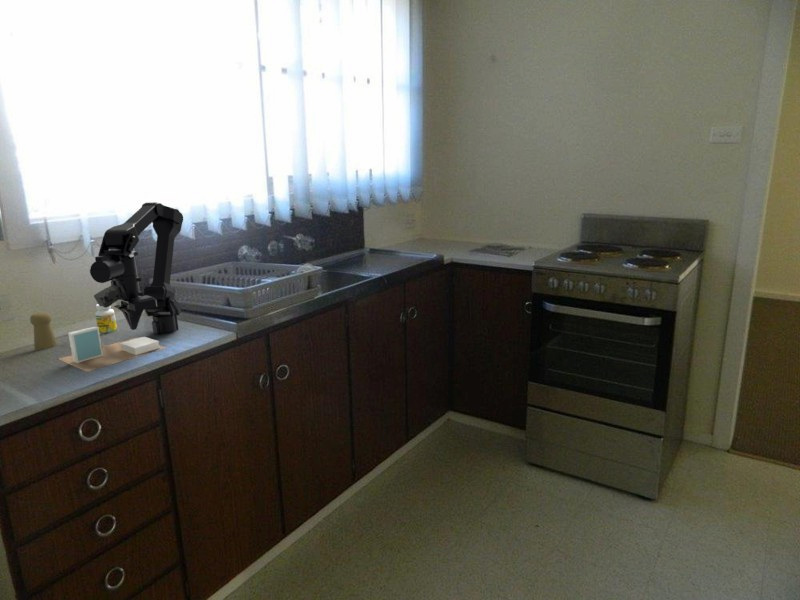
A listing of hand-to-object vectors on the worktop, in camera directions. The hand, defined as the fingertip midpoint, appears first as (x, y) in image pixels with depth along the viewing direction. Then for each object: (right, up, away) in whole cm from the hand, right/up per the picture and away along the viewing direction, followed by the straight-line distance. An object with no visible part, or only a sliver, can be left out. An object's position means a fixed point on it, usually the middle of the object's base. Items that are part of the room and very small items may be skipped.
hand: (133, 329), depth 164 cm
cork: (-28, -6, +6) cm, 29 cm away
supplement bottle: (-17, -2, +20) cm, 26 cm away
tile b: (-10, -8, -6) cm, 14 cm away
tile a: (-1, -4, +2) cm, 5 cm away
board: (-5, -7, -2) cm, 9 cm away
